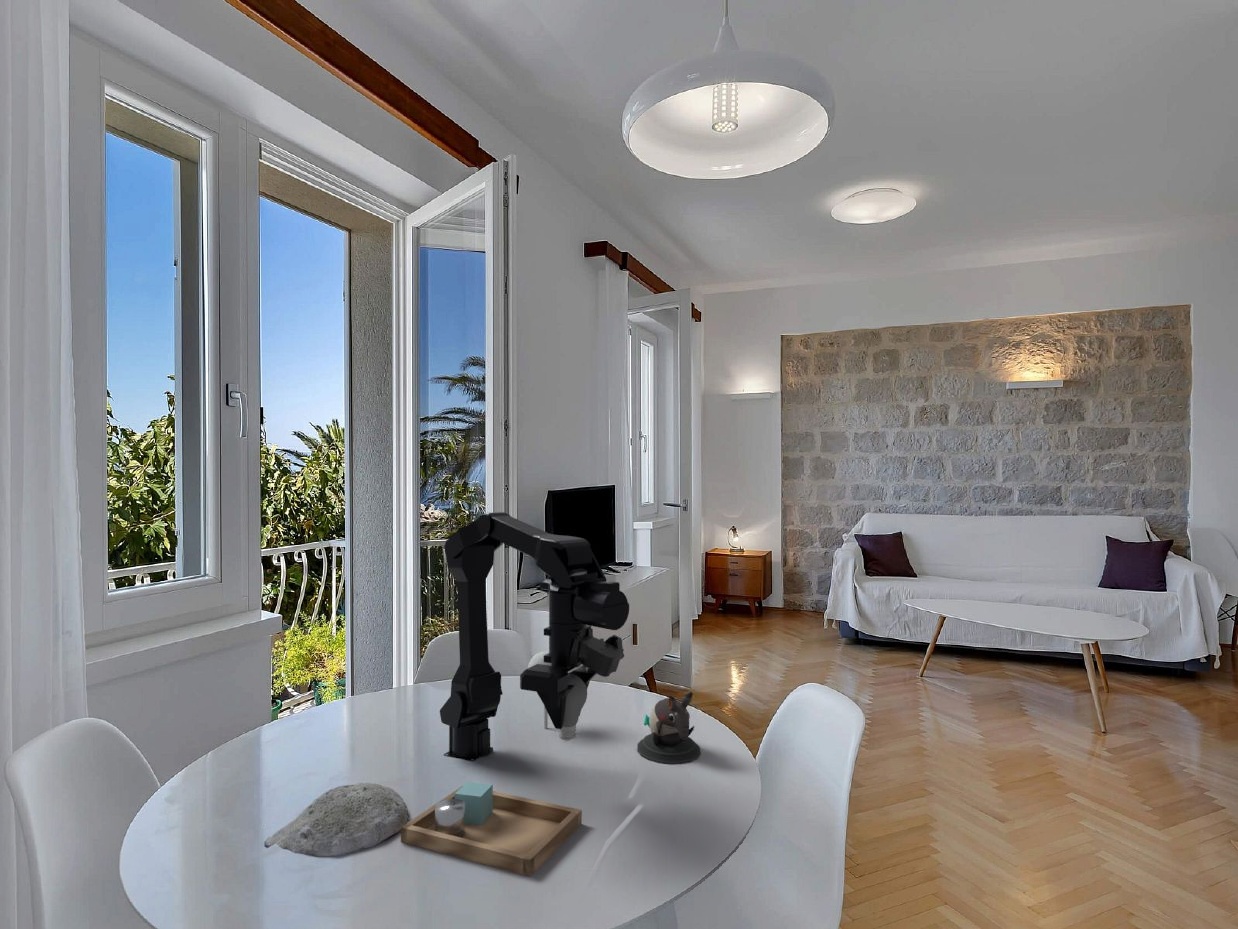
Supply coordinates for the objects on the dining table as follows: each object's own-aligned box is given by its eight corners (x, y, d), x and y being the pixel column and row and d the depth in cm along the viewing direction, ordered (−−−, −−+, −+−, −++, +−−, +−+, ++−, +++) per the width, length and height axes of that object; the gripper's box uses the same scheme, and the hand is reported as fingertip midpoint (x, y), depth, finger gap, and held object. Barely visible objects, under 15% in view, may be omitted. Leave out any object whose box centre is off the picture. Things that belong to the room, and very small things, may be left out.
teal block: (454, 822, 98) (454, 793, 98) (467, 809, 102) (467, 781, 102) (480, 825, 97) (480, 796, 97) (492, 812, 101) (492, 784, 101)
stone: (364, 770, 110) (430, 766, 102) (370, 822, 108) (437, 822, 101) (255, 810, 95) (323, 809, 87) (260, 871, 93) (329, 875, 86)
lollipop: (571, 726, 138) (571, 650, 138) (548, 737, 132) (549, 658, 132) (543, 719, 142) (543, 645, 142) (520, 730, 136) (520, 653, 136)
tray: (400, 846, 93) (400, 827, 93) (464, 801, 106) (464, 784, 106) (529, 881, 85) (529, 860, 85) (581, 828, 98) (581, 810, 98)
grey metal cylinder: (428, 839, 94) (428, 809, 94) (447, 825, 97) (447, 796, 97) (452, 845, 92) (453, 815, 92) (470, 831, 96) (471, 802, 96)
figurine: (679, 734, 133) (679, 673, 133) (713, 759, 122) (714, 693, 122) (626, 744, 128) (626, 681, 128) (657, 771, 118) (658, 702, 117)
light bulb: (581, 748, 103) (581, 680, 103) (542, 745, 104) (543, 678, 105) (591, 734, 109) (591, 670, 109) (554, 731, 110) (554, 668, 110)
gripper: (587, 638, 95) (587, 753, 95) (638, 613, 112) (639, 711, 112) (518, 631, 100) (517, 740, 99) (577, 608, 117) (577, 702, 117)
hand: (567, 722), depth 107 cm, fingers closed on light bulb, 5 cm apart
